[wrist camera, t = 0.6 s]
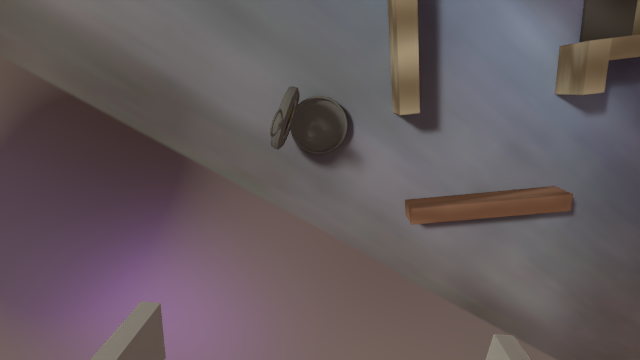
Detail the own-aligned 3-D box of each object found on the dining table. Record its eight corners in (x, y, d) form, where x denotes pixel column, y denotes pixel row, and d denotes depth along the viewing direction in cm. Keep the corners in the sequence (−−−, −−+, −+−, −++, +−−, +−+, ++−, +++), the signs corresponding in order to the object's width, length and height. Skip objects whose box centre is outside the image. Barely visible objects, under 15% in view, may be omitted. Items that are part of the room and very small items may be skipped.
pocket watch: (352, 144, 37) (359, 164, 27) (285, 161, 38) (270, 186, 28) (336, 75, 35) (337, 70, 25) (266, 94, 36) (241, 97, 26)
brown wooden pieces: (384, -83, 30) (391, -108, 27) (677, -129, 28) (731, -163, 25) (397, 215, 39) (404, 229, 35) (621, 195, 37) (654, 207, 34)
